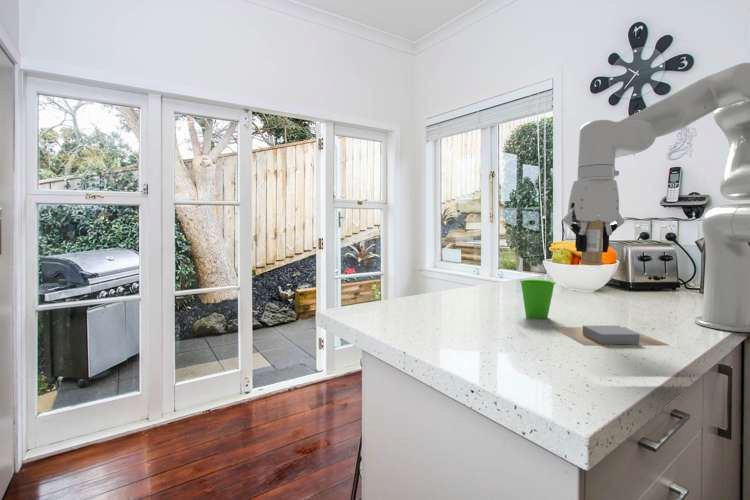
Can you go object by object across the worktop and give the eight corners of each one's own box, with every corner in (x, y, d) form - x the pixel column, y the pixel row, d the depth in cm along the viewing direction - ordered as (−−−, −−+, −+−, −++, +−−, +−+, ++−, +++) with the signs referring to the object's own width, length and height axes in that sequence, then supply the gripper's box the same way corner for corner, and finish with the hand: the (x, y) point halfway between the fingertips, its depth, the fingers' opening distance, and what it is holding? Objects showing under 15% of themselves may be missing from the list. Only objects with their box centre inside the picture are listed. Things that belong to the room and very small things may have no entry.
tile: (617, 325, 84) (582, 325, 84) (639, 334, 77) (601, 334, 77) (617, 334, 85) (582, 334, 85) (639, 344, 78) (601, 344, 78)
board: (624, 332, 91) (624, 327, 91) (669, 350, 77) (670, 345, 77) (551, 332, 91) (552, 327, 91) (583, 350, 77) (584, 345, 77)
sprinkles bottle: (605, 265, 88) (608, 208, 87) (595, 266, 86) (599, 207, 85) (586, 263, 92) (589, 209, 91) (576, 264, 89) (579, 208, 89)
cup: (550, 327, 96) (551, 285, 95) (514, 321, 101) (515, 282, 101) (557, 320, 103) (558, 281, 102) (523, 315, 108) (524, 278, 108)
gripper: (620, 178, 91) (616, 251, 92) (552, 176, 91) (549, 250, 92) (642, 173, 84) (637, 253, 85) (568, 172, 84) (564, 252, 85)
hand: (591, 251), depth 89 cm, fingers closed on sprinkles bottle, 4 cm apart
